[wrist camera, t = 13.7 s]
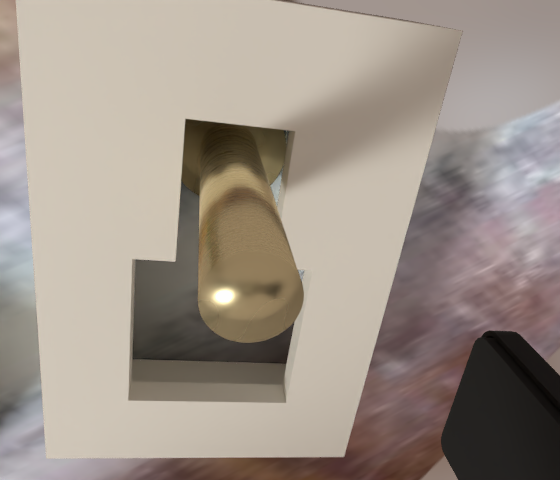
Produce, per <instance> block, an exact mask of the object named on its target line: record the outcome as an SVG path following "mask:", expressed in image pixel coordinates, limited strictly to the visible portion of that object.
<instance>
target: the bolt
mask: <svg viewBox="0 0 560 480" xmlns="http://www.w3.org/2000/svg"><path fill="white" fill-rule="evenodd" d="M285 153H286V138H285V133H284V130H280V129H271V128H263V127H254V126H245V125H236V124H228V123H219V122H210V121H201V120H193V119H186V121H185V136H184V150H183V165H182V179H181V181H182V182H183V184H184V185H185V186H186V187H188V188H189V189H190V190H191V191H192V192H194V193H195V194H197V195H199V196H200V199H199V261H198V308H199V312H200V315H201V317H202V319H203V321H204V322H205V323H206V325H207V326H208V327H209V328H210V329H211V330H212V331H213V332H215V333H216V334H218V335H219V336H221V337H223V338H225V339H228V340H231V341H235V342H242V343H254V342H260V341H265V340H268V339H271V338H273V337H275V336H277V335H279V334H281V333H282V332H284V331H285V330H286V329H287V328H289V327H290V326H291V325H292V324H293V322H294V321H295V320H296V318H297V317H298V315H299V313H300V311H301V309H302V305H303V300H304V290H303V285H302V282H301V279H300V276H299V273H298V270H297V267H296V264H295V261H294V257H293V254H292V251H291V248H290V245H289V242H288V239H287V236H286V233H285V230H284V227H283V224H282V221H281V218H280V215H279V212H278V209H277V206H276V203H275V200H274V197H273V194H272V190H271V187H270V185H271V184H272V183H273V182H274V181H275V179H276V178H277V177H278V175H279V173H280V171H281V169H282V166H283V164H284V160H285Z"/></svg>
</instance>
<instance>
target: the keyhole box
mask: <svg viewBox="0 0 560 480" xmlns="http://www.w3.org/2000/svg"><path fill="white" fill-rule="evenodd" d="M16 10H17V25H18V40H19V55H20V70H21V85H22V100H23V115H24V130H25V146H26V161H27V176H28V191H29V206H30V221H31V236H32V251H33V266H34V281H35V296H36V311H37V326H38V342H39V357H40V372H41V387H42V402H43V417H44V432H45V447H46V459H52V458H245V457H344V455H345V451H346V448H347V444H348V441H349V437H350V433H351V430H352V426H353V423H354V419H355V416H356V412H357V408H358V405H359V401H360V398H361V394H362V390H363V387H364V383H365V380H366V376H367V373H368V369H369V365H370V362H371V358H372V355H373V351H374V347H375V344H376V340H377V337H378V333H379V330H380V326H381V322H382V319H383V315H384V312H385V308H386V304H387V301H388V297H389V294H390V290H391V287H392V283H393V279H394V276H395V272H396V269H397V265H398V261H399V258H400V254H401V251H402V247H403V244H404V240H405V236H406V233H407V229H408V226H409V222H410V218H411V215H412V211H413V208H414V204H415V201H416V197H417V193H418V190H419V186H420V183H421V179H422V175H423V172H424V168H425V165H426V161H427V158H428V154H429V150H430V147H431V143H432V140H433V136H434V132H435V129H436V125H437V121H438V118H439V115H440V111H441V107H442V104H443V100H444V96H445V92H446V89H447V85H448V82H449V78H450V75H451V71H452V68H453V64H454V61H455V57H456V53H457V50H458V46H459V43H460V39H461V36H462V32H463V31H461V30H456V29H450V28H445V27H440V26H434V25H428V24H423V23H418V22H413V21H408V20H401V19H395V18H389V17H383V16H377V15H370V14H364V13H358V12H352V11H346V10H339V9H333V8H327V7H321V6H315V5H309V4H302V3H296V2H290V1H284V0H16ZM186 119H193V120H201V121H210V122H219V123H228V124H236V125H245V126H254V127H263V128H271V129H280V130H289V134H288V140H287V147H286V153H285V160H284V166H283V172H282V179H281V185H280V192H279V198H278V204H277V209H278V212H279V215H280V218H281V221H282V224H283V227H284V230H285V233H286V236H287V239H288V242H289V245H290V248H291V251H292V254H293V257H294V261H295V264H296V267H297V270H304V275H303V281H302V285H303V290H304V300H303V305H302V309H301V311H300V313H299V315H298V317H297V318H296V320H295V322H294V327H293V333H292V338H291V343H290V348H289V354H288V359H287V364H282V363H248V362H213V361H179V360H145V359H132V354H133V321H134V288H135V259H139V260H155V261H170V262H175V261H176V251H177V238H178V223H179V209H180V194H181V179H182V165H183V150H184V136H185V121H186Z"/></svg>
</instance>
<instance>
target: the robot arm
mask: <svg viewBox="0 0 560 480" xmlns="http://www.w3.org/2000/svg"><path fill="white" fill-rule="evenodd" d="M441 445H442V450H443V452H444V455H445V456H446V458H447V460H448V462H449V464H450V466H451V467H452V469H453V471H454V472H455V474H456V476H457V478H458V480H560V376H559V375H558V373H557V372H555V370H554V369H553V368H552V367H551V366H550V365H549V364H548V363H547V362H546V361H545V360H544V359H543V358H542V357H541V356H540V355H539V354H538V353H537V352H536V351H535V350H534V349H533V348H532V347H531V346H530V345H529V344H528V343H527V342H526V341H525V340H524V339H523V337H522V336H521V335H519V334H518V333H517V332H512V331H487V332H485V333H484V334H483V335H482V337H481V338H478V339H477V340H476V341H475V343H474V345H473V348H472V351H471V354H470V357H469V360H468V362H467V365H466V368H465V371H464V374H463V376H462V379H461V382H460V385H459V388H458V390H457V393H456V396H455V399H454V402H453V405H452V407H451V410H450V413H449V416H448V419H447V421H446V424H445V427H444V430H443V433H442V437H441Z"/></svg>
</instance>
